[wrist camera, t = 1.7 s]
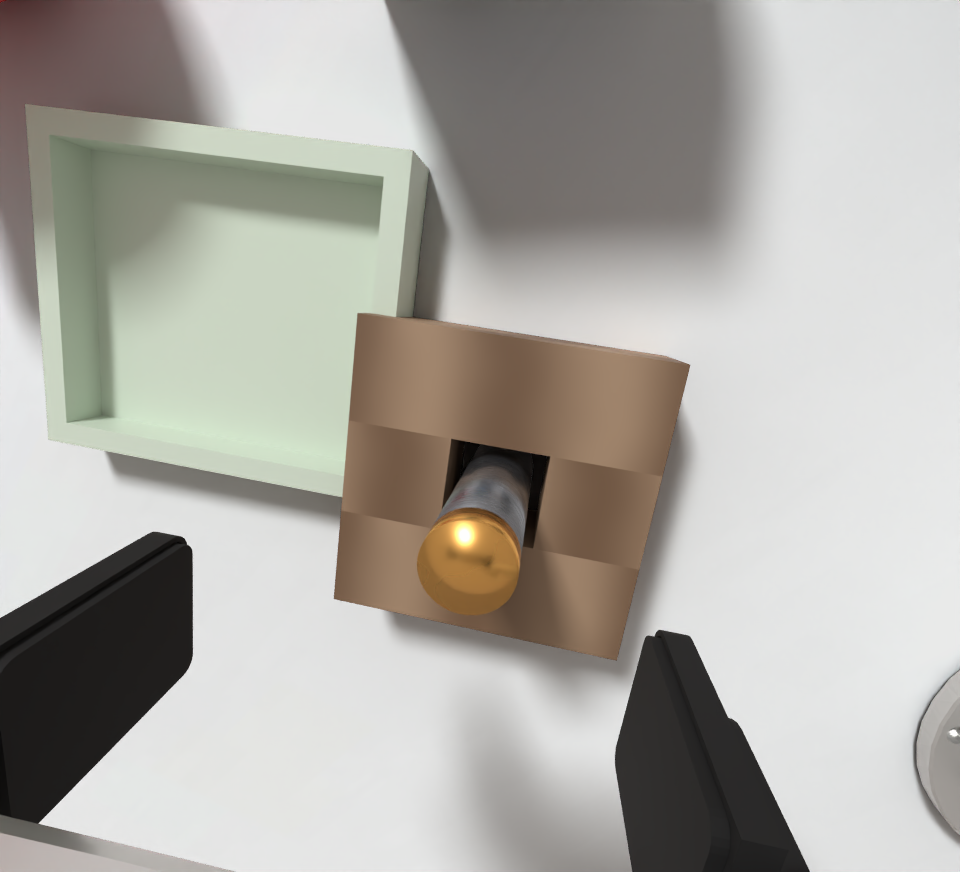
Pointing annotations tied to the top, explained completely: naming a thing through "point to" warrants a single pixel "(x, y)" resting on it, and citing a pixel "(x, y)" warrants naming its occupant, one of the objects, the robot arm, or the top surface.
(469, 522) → the pin
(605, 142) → the top surface
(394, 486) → the block
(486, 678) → the top surface
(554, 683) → the top surface
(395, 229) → the tray
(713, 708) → the robot arm
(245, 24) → the top surface
